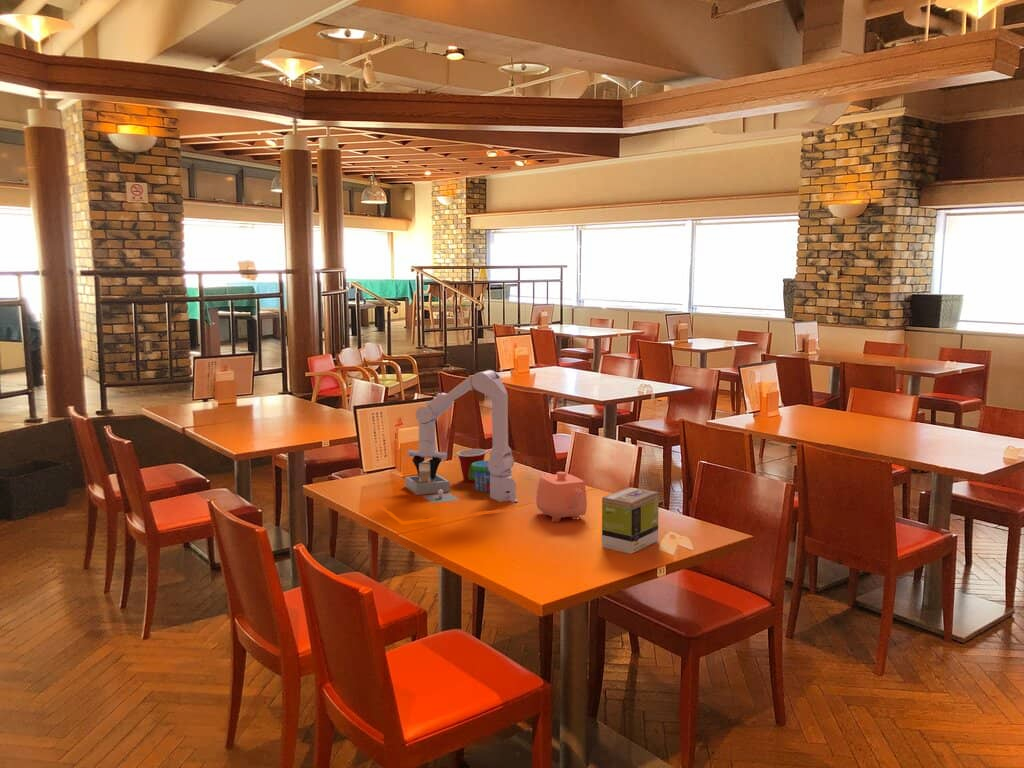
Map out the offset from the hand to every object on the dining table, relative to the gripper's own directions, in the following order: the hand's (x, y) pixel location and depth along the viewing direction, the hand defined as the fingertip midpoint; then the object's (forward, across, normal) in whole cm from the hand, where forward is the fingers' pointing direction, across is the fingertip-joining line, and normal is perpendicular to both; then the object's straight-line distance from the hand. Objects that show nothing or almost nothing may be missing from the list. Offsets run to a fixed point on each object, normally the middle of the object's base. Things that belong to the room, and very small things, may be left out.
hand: (427, 477), depth 286 cm
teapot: (+5, -52, +13) cm, 54 cm away
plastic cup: (+5, -10, -17) cm, 20 cm away
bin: (+5, 0, 0) cm, 5 cm away
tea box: (+5, -78, +32) cm, 84 cm away
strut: (+3, 0, 0) cm, 3 cm away
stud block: (+5, -9, +9) cm, 14 cm away
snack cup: (+5, -20, -7) cm, 22 cm away
